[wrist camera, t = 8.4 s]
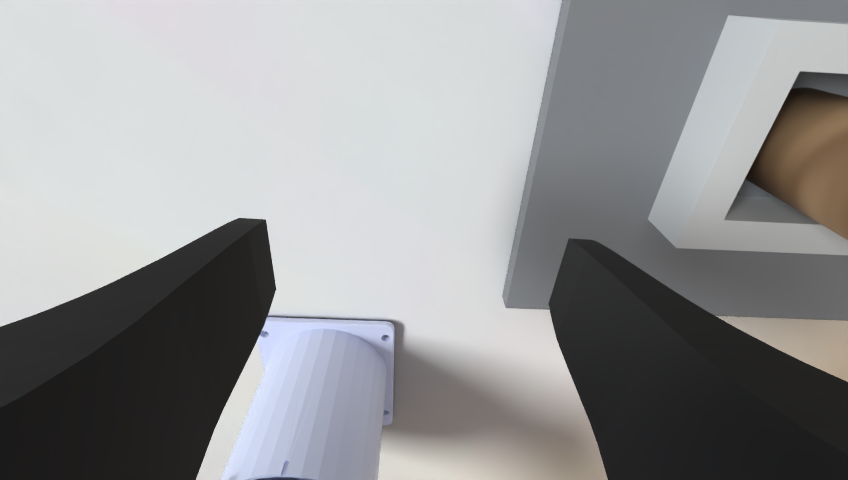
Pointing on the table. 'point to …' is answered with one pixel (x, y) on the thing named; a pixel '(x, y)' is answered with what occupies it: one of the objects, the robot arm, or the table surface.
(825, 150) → the walnut peg
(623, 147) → the grey flat piece
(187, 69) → the table surface
